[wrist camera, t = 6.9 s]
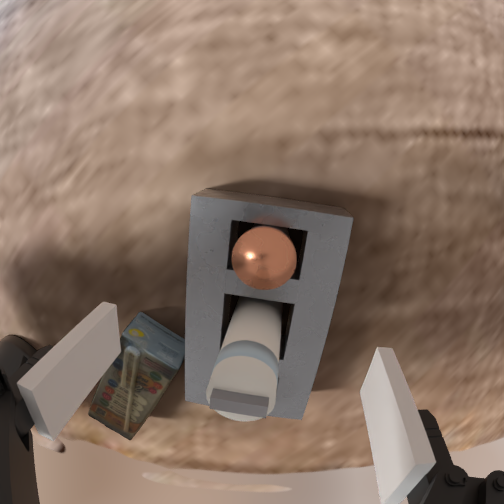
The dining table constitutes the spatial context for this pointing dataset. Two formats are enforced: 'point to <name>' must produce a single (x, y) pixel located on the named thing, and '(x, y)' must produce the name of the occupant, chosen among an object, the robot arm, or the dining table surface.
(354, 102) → the dining table surface
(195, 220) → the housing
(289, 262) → the plunger
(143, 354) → the beverage carton
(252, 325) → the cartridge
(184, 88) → the dining table surface
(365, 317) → the dining table surface
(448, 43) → the dining table surface
